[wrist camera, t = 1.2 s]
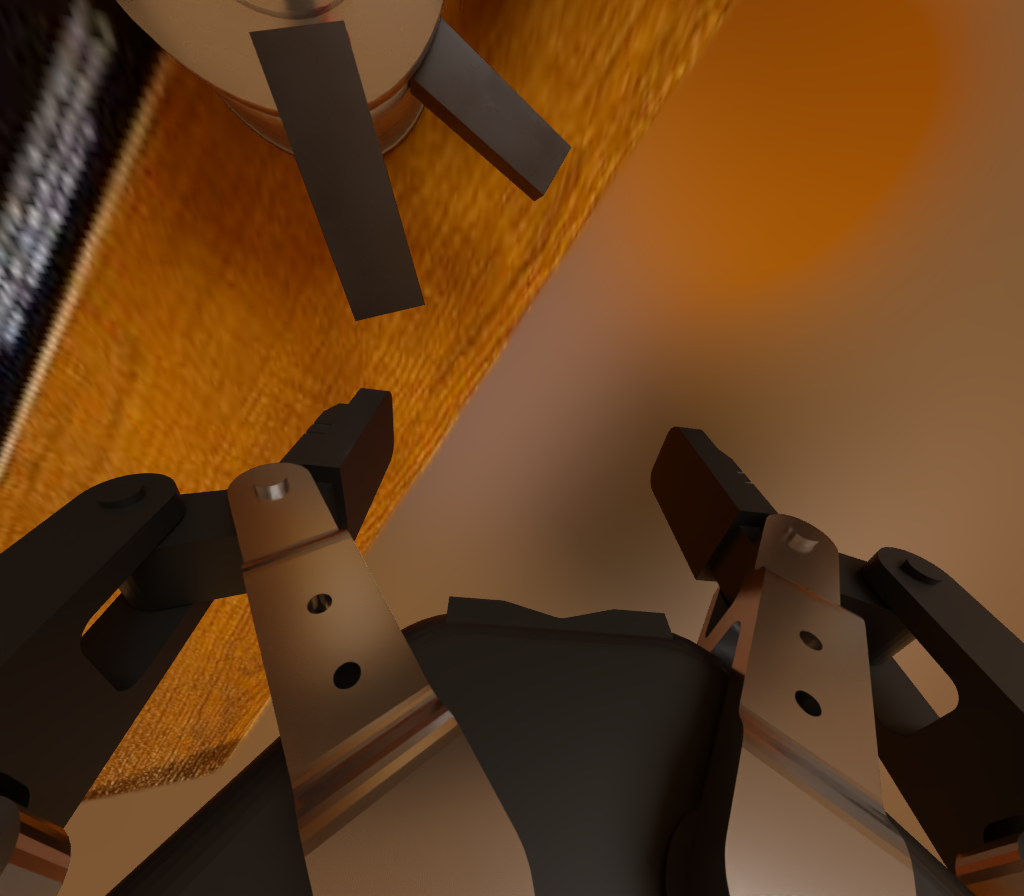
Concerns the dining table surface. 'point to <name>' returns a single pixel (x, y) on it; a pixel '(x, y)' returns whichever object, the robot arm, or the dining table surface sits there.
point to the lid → (318, 109)
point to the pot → (455, 114)
